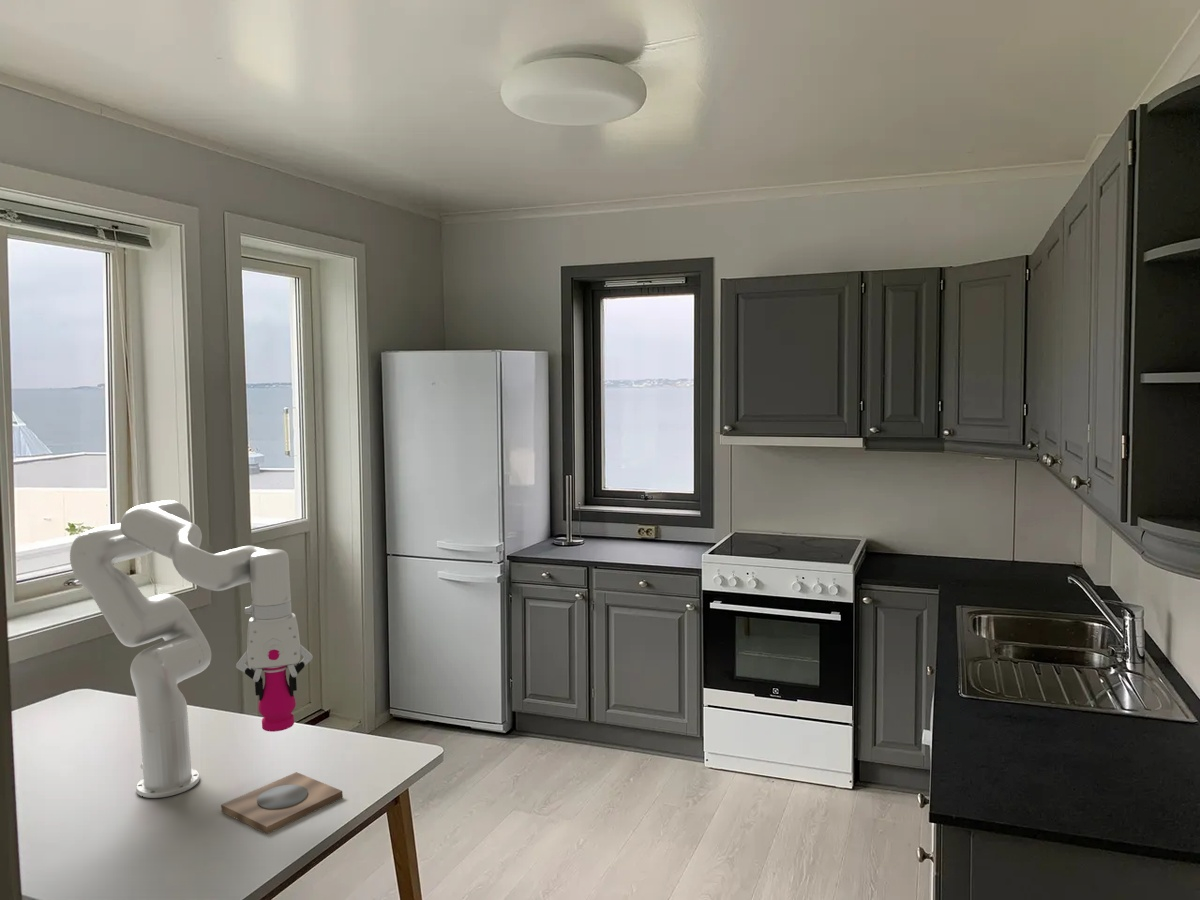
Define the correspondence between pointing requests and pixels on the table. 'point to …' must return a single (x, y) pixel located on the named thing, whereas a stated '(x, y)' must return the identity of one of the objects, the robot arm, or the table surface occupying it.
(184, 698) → the robot arm
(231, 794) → the table surface
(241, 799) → the walnut board
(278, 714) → the pepper mill
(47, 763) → the table surface
